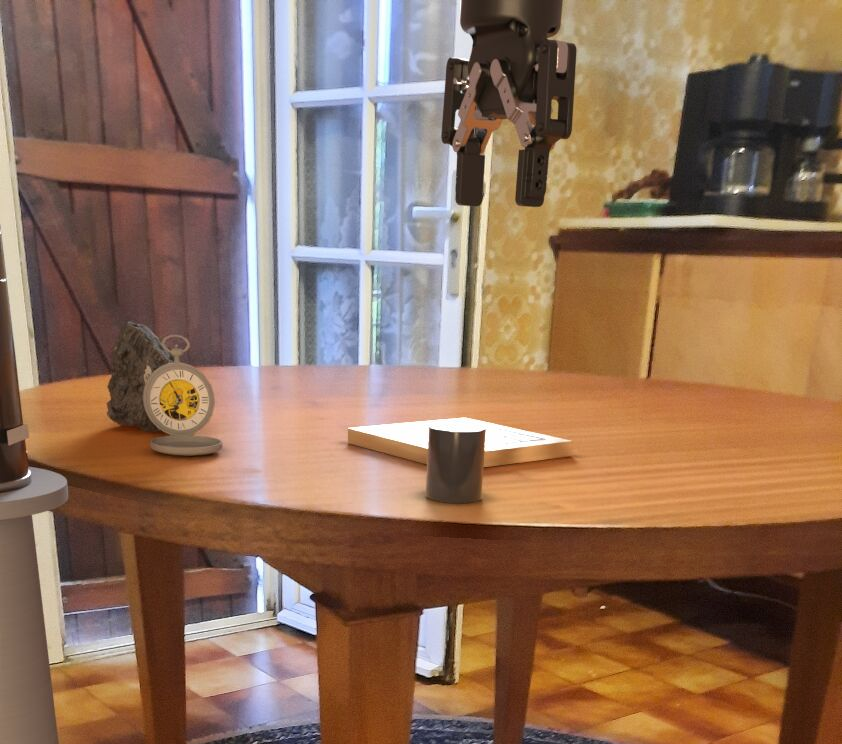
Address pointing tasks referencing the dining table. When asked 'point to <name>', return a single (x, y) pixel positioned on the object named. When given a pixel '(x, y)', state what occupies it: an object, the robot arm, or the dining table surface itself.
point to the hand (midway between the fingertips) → (497, 206)
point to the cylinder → (455, 462)
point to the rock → (136, 375)
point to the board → (499, 441)
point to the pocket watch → (180, 406)
